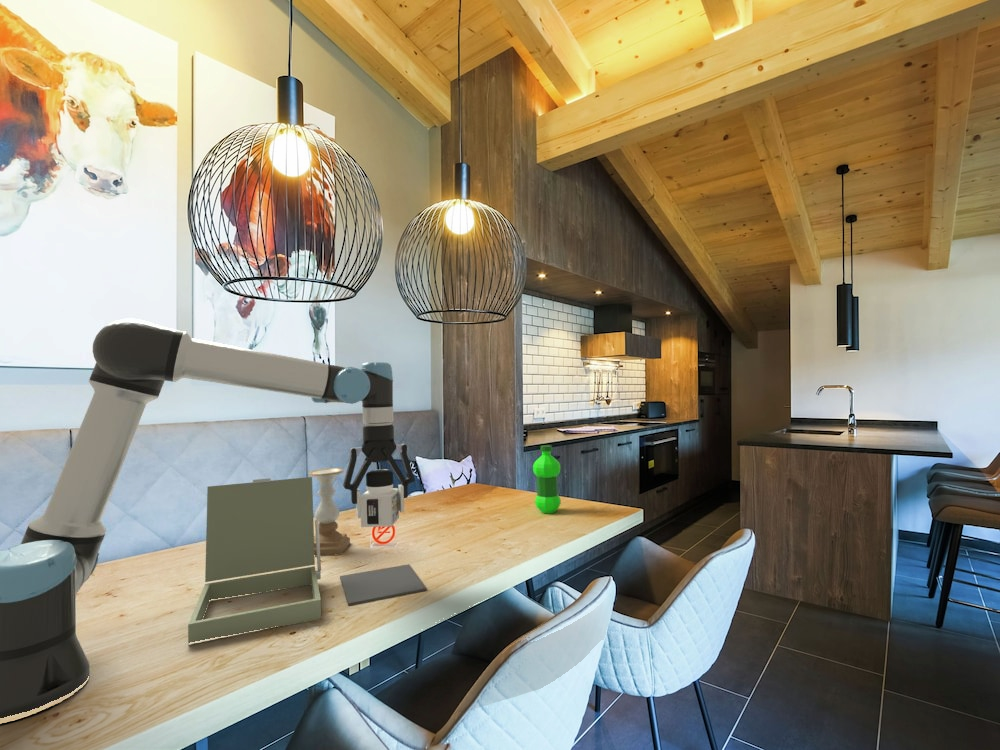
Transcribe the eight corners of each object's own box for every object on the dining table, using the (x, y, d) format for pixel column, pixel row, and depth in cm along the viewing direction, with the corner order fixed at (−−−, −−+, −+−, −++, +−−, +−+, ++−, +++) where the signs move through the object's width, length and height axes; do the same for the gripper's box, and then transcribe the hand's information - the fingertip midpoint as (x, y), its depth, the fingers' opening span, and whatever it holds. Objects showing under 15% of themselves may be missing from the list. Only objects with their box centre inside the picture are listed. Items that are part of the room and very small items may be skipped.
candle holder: (350, 543, 156) (349, 467, 156) (340, 554, 145) (339, 473, 145) (315, 544, 155) (314, 468, 156) (302, 556, 144) (301, 474, 145)
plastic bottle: (541, 516, 181) (539, 448, 182) (530, 510, 191) (528, 445, 192) (566, 513, 184) (564, 446, 185) (554, 507, 194) (552, 443, 195)
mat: (426, 590, 117) (426, 588, 117) (348, 605, 110) (348, 603, 110) (409, 566, 134) (409, 564, 134) (340, 577, 127) (339, 576, 127)
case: (327, 617, 105) (325, 546, 105) (188, 645, 95) (187, 566, 95) (319, 576, 128) (318, 518, 128) (207, 595, 118) (206, 532, 118)
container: (392, 526, 119) (391, 472, 119) (360, 527, 119) (359, 473, 119) (399, 518, 126) (398, 467, 127) (369, 519, 126) (368, 468, 127)
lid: (312, 474, 130) (311, 475, 132) (207, 483, 121) (208, 484, 122) (314, 564, 124) (314, 564, 126) (204, 582, 115) (205, 581, 116)
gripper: (418, 421, 131) (420, 505, 130) (329, 426, 122) (331, 516, 121) (426, 422, 124) (428, 511, 124) (332, 427, 115) (334, 523, 115)
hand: (380, 514), depth 123 cm, fingers closed on container, 10 cm apart
